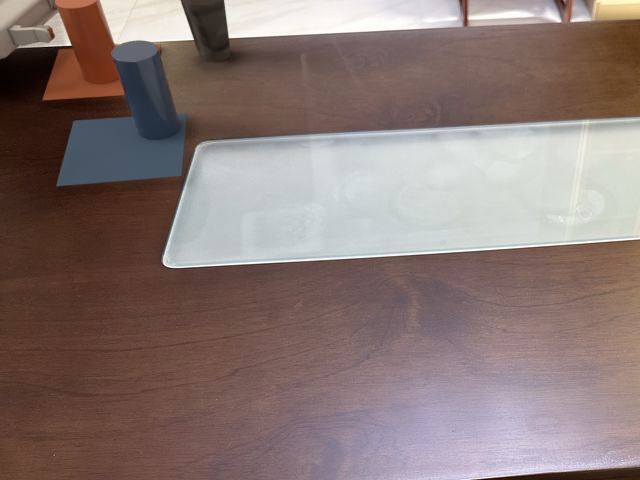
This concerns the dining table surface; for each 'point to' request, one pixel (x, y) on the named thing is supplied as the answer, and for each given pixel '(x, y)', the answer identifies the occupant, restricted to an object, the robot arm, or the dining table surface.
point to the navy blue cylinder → (146, 89)
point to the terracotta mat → (76, 80)
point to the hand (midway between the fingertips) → (68, 19)
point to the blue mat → (119, 153)
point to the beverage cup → (208, 28)
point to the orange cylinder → (89, 38)
